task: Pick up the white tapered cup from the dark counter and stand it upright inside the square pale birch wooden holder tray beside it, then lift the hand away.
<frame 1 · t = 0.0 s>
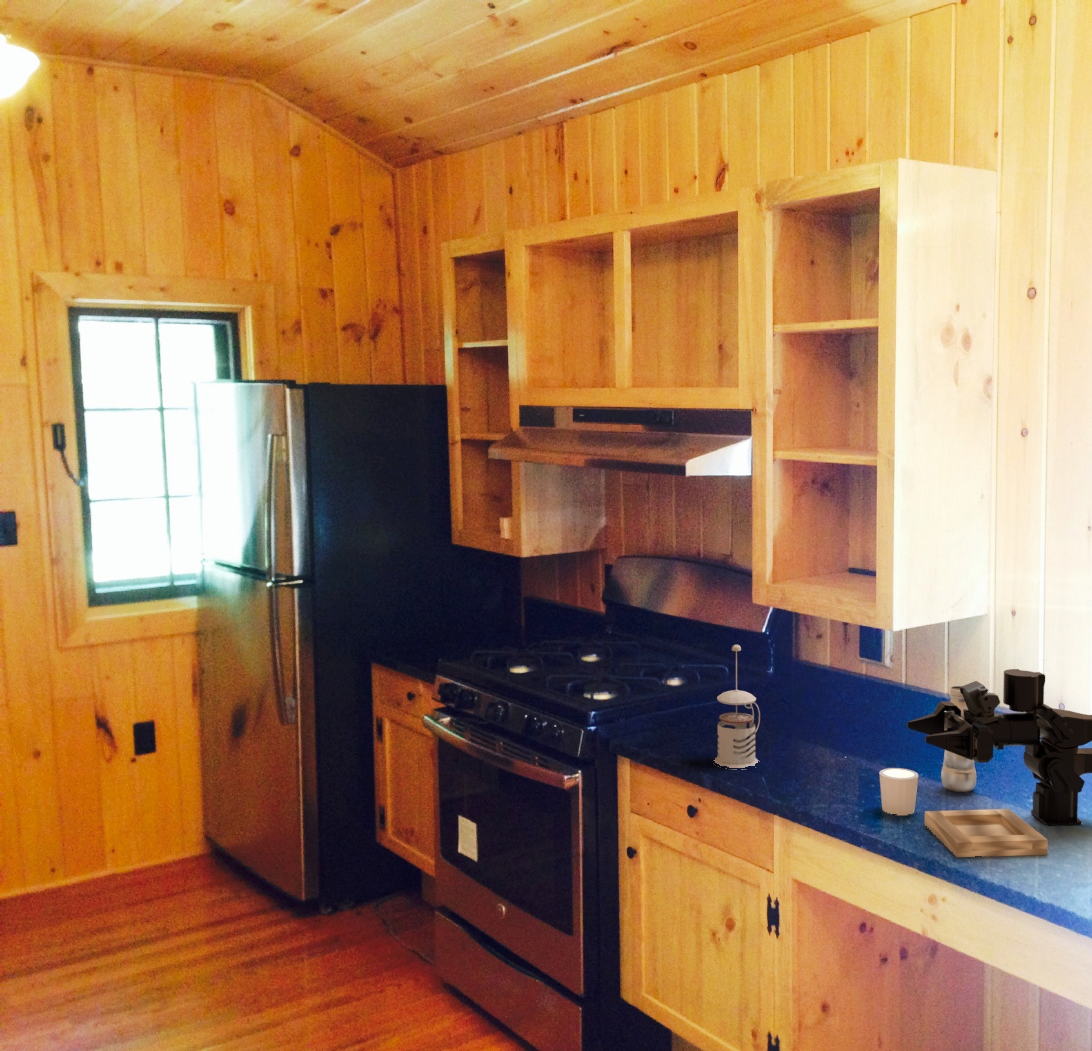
hand: (916, 731, 207), 17 cm above the worktop, tool horizontal, fingers open, 9 cm apart
french press: (739, 762, 247), on the worktop
white tapered cup: (898, 811, 216), on the worktop
plastic bottle: (958, 791, 226), on the worktop
holder tray: (983, 839, 200), on the worktop
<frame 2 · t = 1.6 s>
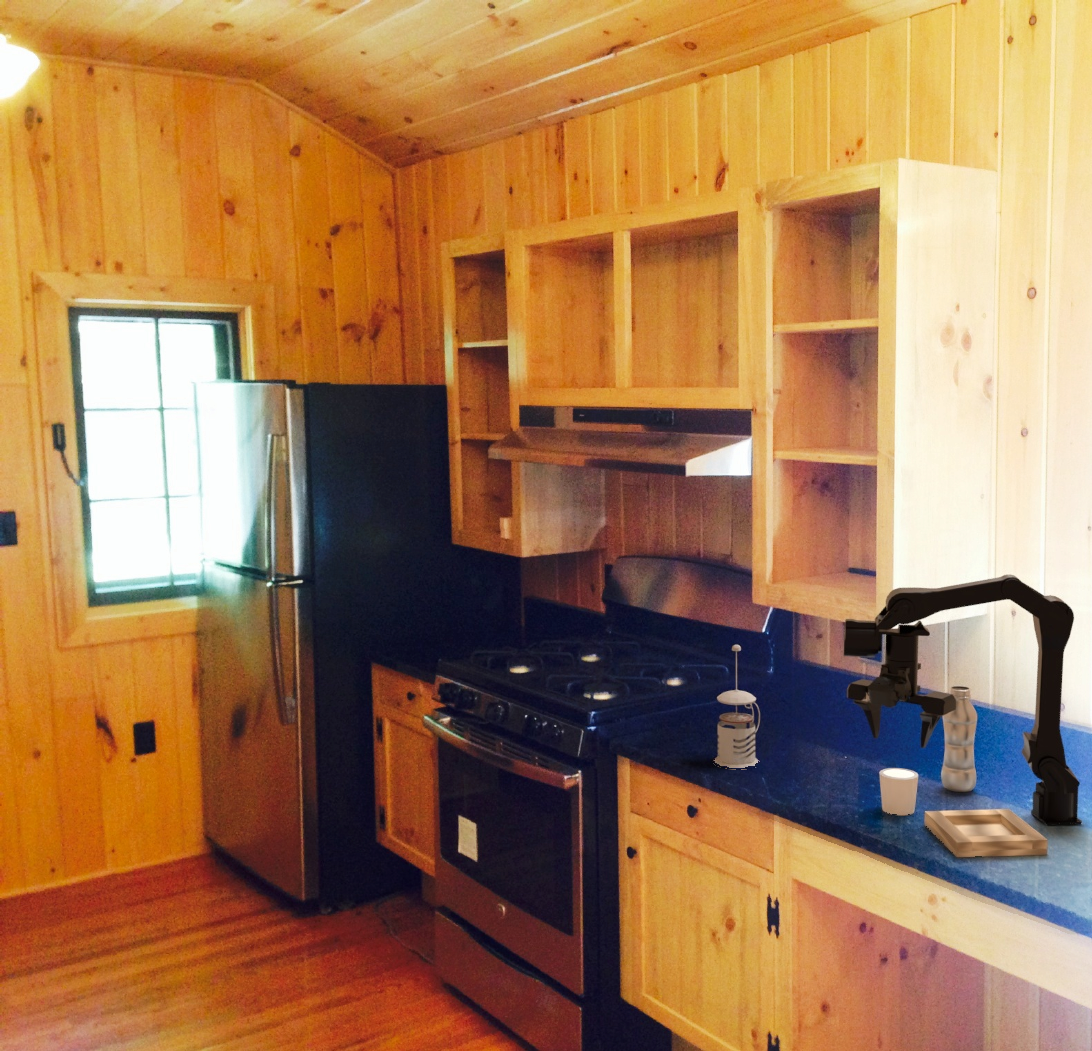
hand: (899, 742, 214), 13 cm above the worktop, tool pointing down, fingers open, 9 cm apart
nothing on the worktop moved.
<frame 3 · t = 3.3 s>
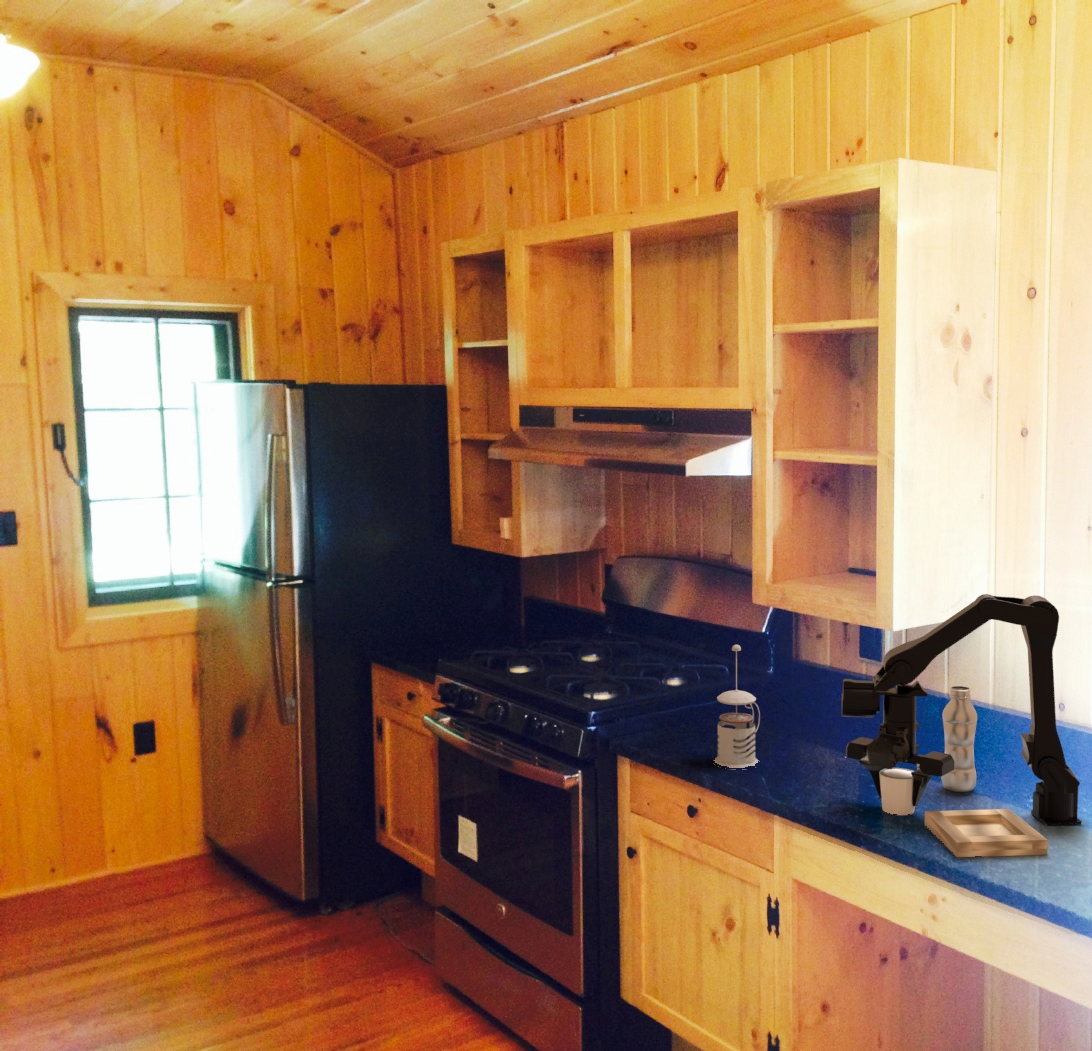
hand: (898, 801, 215), 2 cm above the worktop, tool pointing down, fingers closed on white tapered cup, 6 cm apart
white tapered cup: (898, 811, 216), on the worktop, touching gripper
everything else where it was.
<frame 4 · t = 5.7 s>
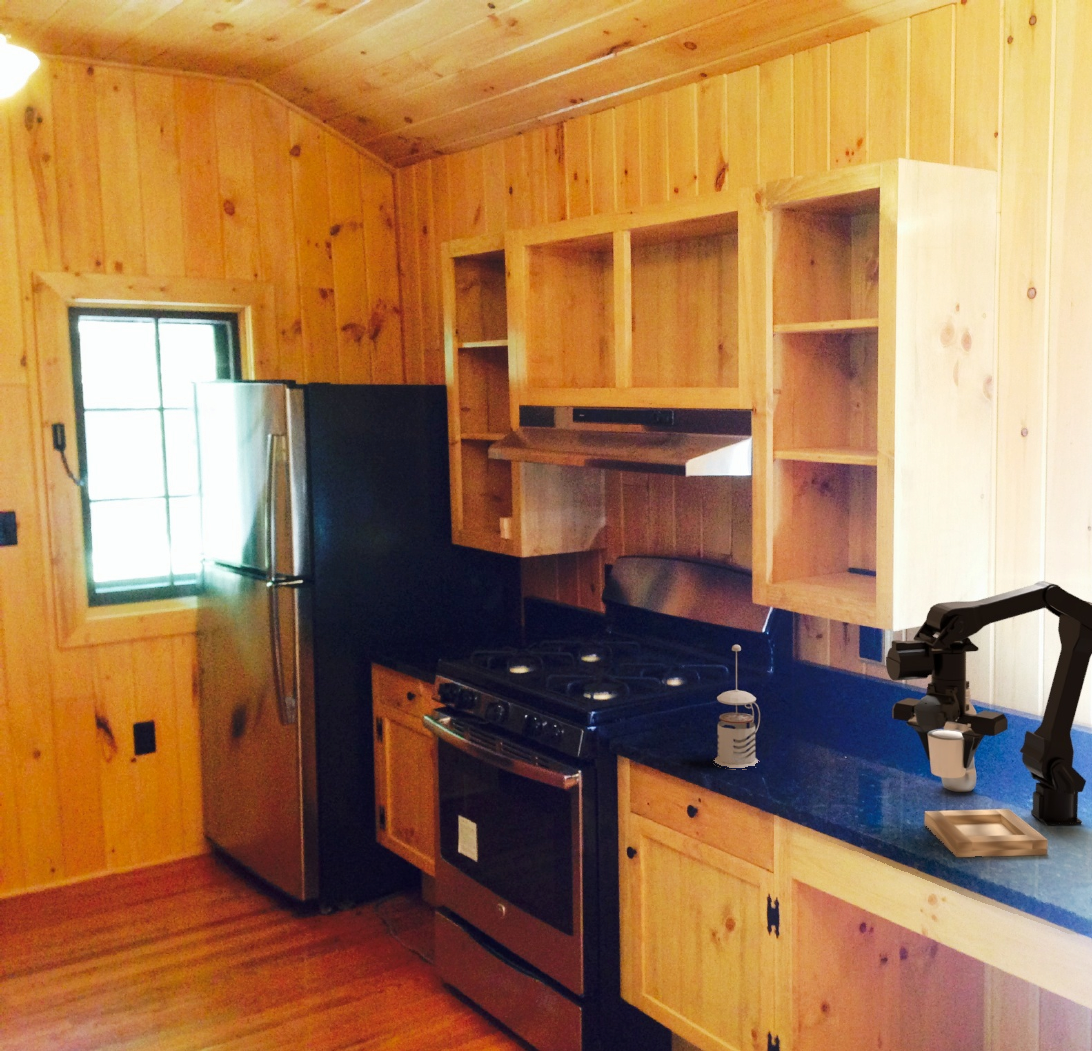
hand: (948, 764, 206), 11 cm above the worktop, tool pointing down, fingers closed on white tapered cup, 6 cm apart
white tapered cup: (948, 773, 206), point 9 cm above the worktop, touching gripper
everything else where it was.
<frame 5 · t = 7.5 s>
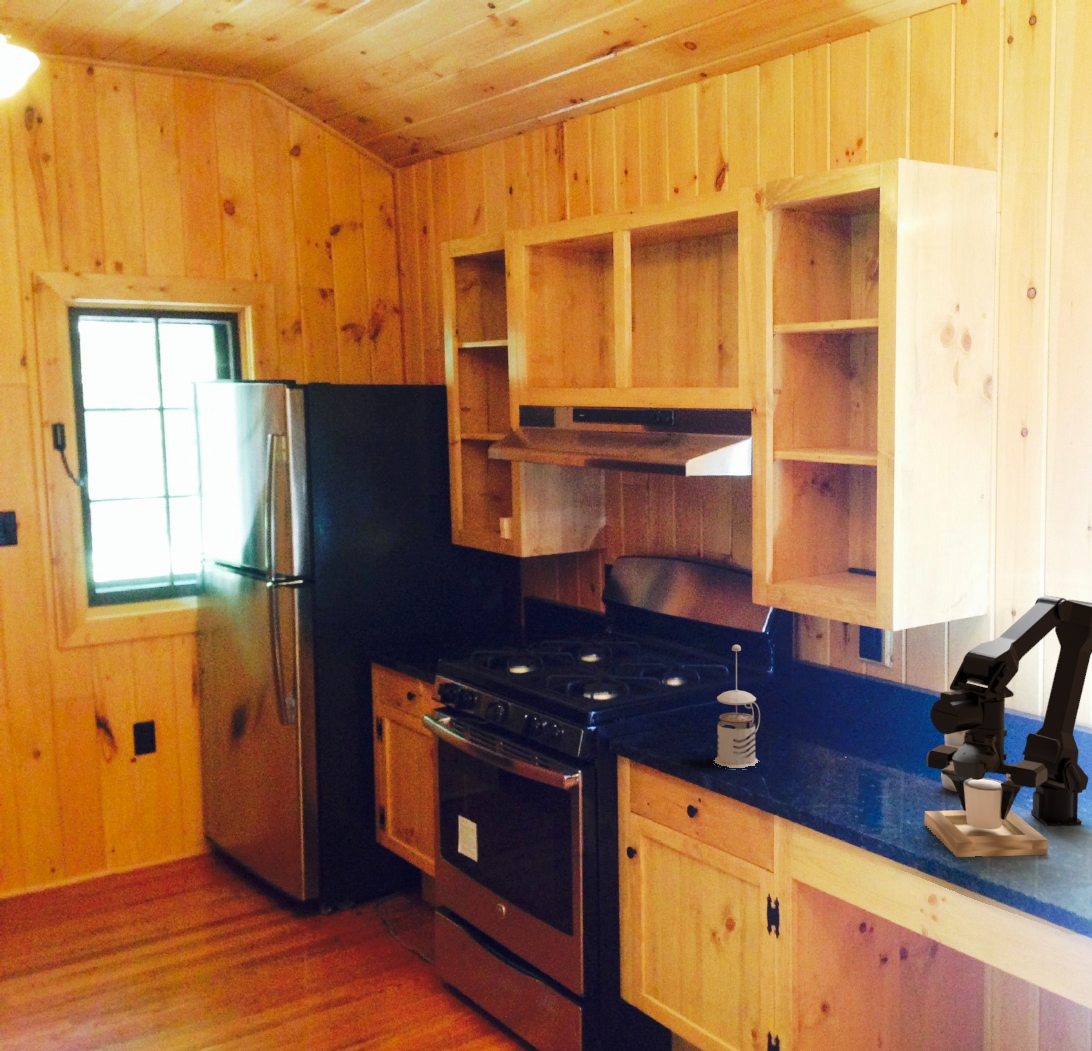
hand: (984, 814, 200), 4 cm above the worktop, tool pointing down, fingers closed on white tapered cup, 6 cm apart
white tapered cup: (984, 824, 200), point 3 cm above the worktop, touching gripper
everything else where it was.
when the fingers open (3 cm above the worktop, at t = 8.6 s): white tapered cup stays where it is, resting on holder tray.
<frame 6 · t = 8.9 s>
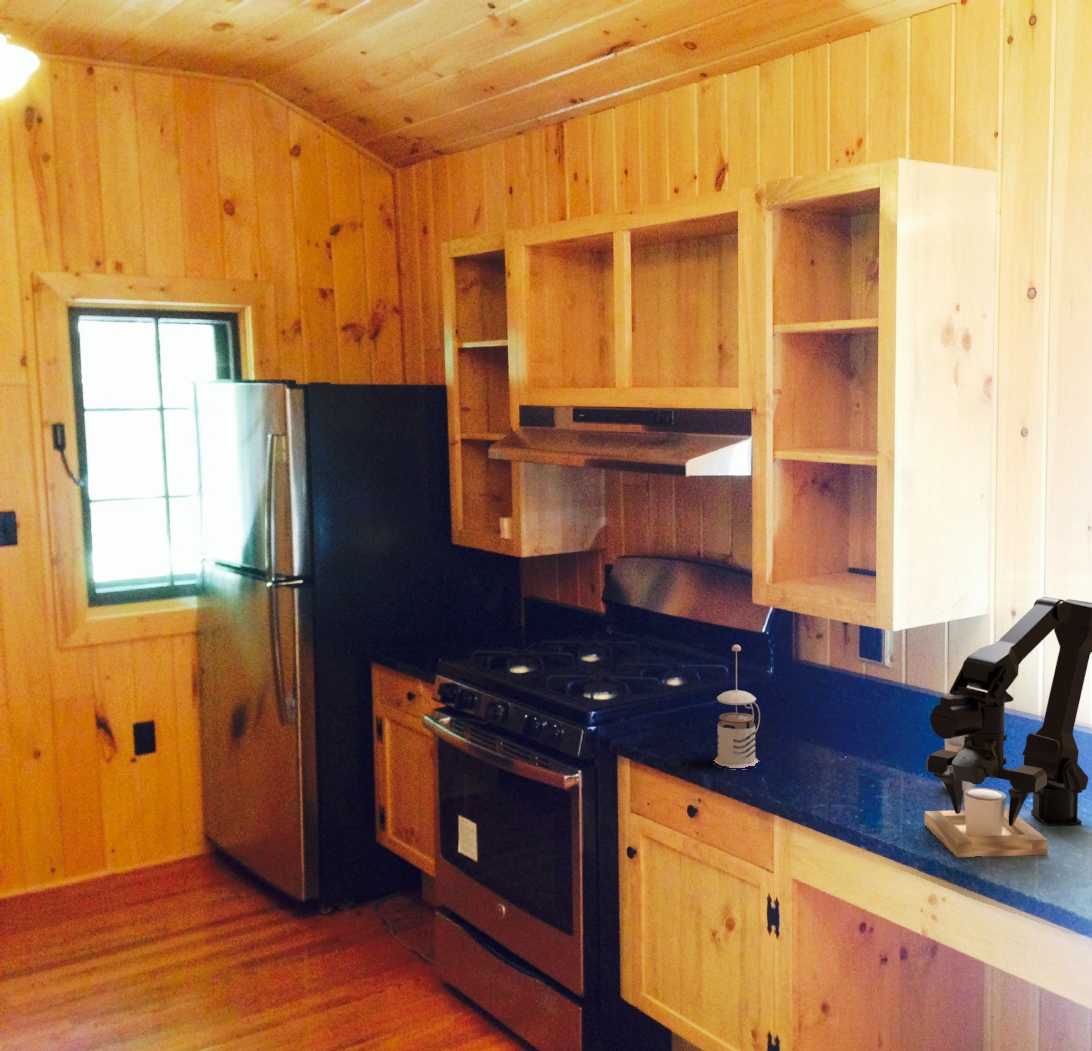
hand: (984, 819, 200), 3 cm above the worktop, tool pointing down, fingers open, 9 cm apart
white tapered cup: (983, 834, 200), point 1 cm above the worktop, touching holder tray
everything else where it was.
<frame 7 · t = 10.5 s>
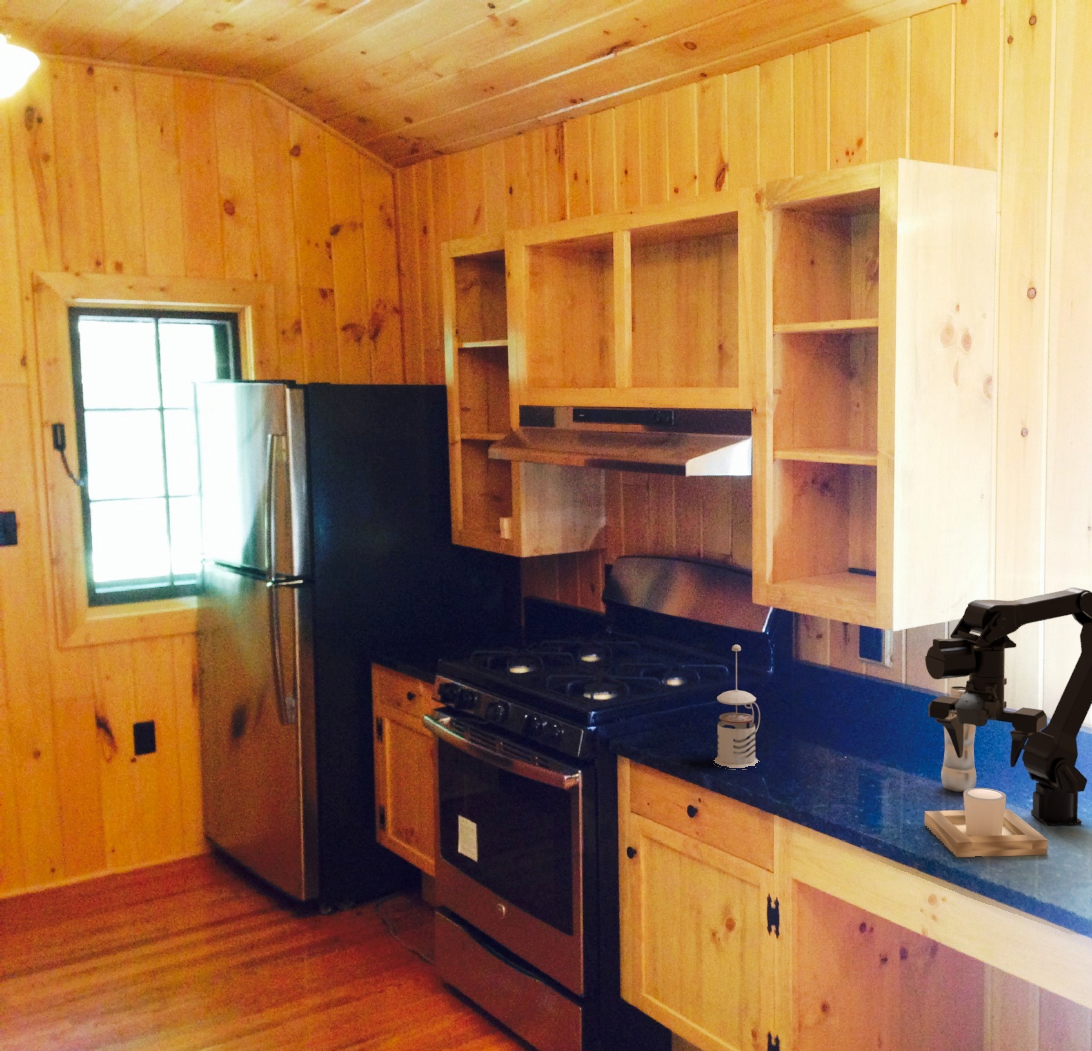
hand: (986, 762, 205), 12 cm above the worktop, tool pointing down, fingers open, 9 cm apart
nothing on the worktop moved.
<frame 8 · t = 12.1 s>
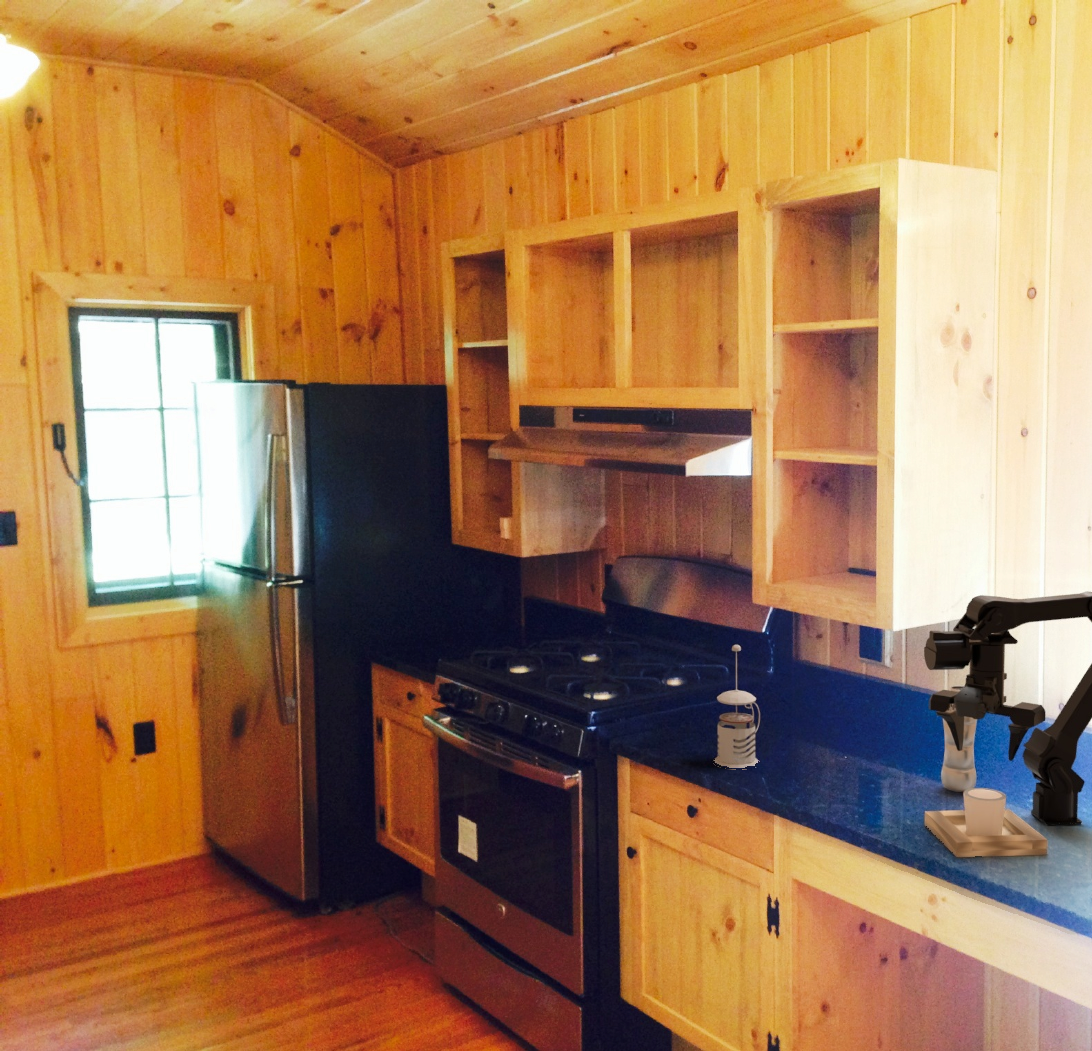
hand: (985, 755, 208), 12 cm above the worktop, tool pointing down, fingers open, 9 cm apart
nothing on the worktop moved.
at the end: white tapered cup 0.0 cm off-centre on the holder tray, point 0.8 cm above the holder tray's base; white tapered cup tilted 0°; the gripper is holding nothing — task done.
